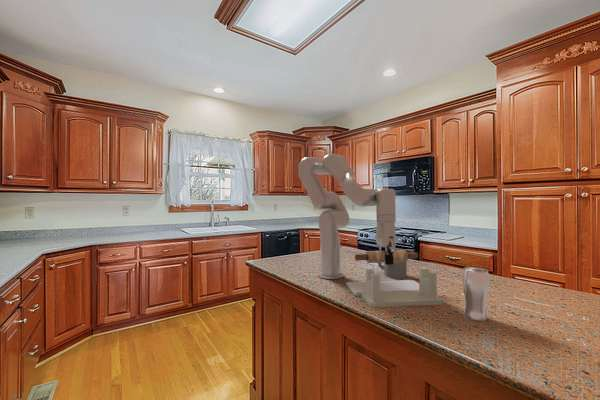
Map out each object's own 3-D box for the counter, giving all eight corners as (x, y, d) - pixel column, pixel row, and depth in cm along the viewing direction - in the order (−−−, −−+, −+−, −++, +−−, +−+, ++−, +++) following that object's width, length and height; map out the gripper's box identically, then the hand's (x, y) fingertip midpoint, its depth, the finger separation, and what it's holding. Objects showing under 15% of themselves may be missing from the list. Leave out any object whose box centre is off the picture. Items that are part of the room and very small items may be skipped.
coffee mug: (410, 275, 132) (410, 254, 132) (400, 280, 126) (399, 258, 126) (385, 270, 142) (385, 250, 142) (374, 274, 136) (374, 253, 136)
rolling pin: (356, 265, 111) (358, 255, 109) (353, 259, 116) (354, 249, 114) (418, 263, 114) (420, 253, 112) (412, 256, 118) (415, 247, 116)
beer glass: (493, 323, 83) (493, 273, 82) (467, 321, 84) (467, 272, 84) (482, 313, 90) (483, 267, 89) (459, 311, 91) (459, 266, 91)
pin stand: (361, 296, 105) (361, 268, 105) (426, 294, 107) (426, 266, 107) (370, 307, 95) (370, 276, 95) (442, 304, 97) (442, 273, 97)
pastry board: (346, 284, 119) (346, 282, 119) (412, 282, 122) (412, 279, 122) (355, 295, 106) (355, 292, 106) (429, 292, 109) (429, 289, 109)
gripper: (370, 217, 122) (370, 258, 122) (385, 220, 105) (386, 268, 105) (386, 217, 123) (386, 258, 123) (404, 220, 106) (405, 267, 106)
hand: (386, 262), depth 114 cm, fingers closed on rolling pin, 4 cm apart
